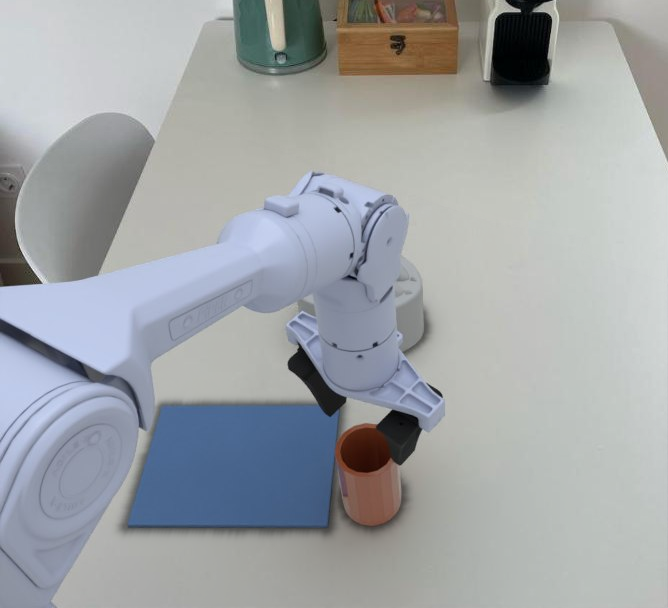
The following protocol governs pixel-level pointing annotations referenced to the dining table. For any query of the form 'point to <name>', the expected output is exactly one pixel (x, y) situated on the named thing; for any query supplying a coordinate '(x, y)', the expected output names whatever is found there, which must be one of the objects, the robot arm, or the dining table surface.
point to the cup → (367, 475)
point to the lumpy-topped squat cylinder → (397, 304)
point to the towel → (238, 467)
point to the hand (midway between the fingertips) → (369, 431)
